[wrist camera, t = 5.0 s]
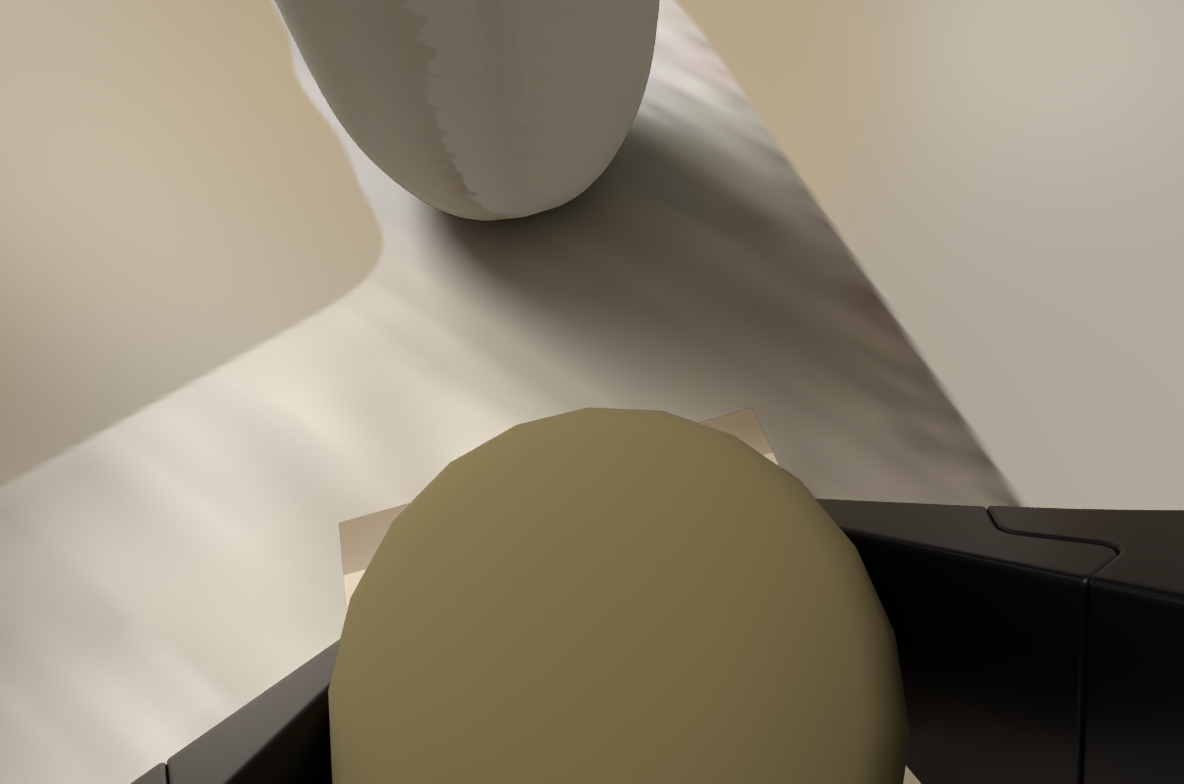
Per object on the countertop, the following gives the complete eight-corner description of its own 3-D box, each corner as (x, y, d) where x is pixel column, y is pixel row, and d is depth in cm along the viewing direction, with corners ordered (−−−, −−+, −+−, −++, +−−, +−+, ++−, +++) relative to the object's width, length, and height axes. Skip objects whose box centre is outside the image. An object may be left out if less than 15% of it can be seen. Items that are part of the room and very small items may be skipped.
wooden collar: (920, 883, 12) (986, 918, 10) (437, 1060, 11) (395, 1144, 9) (734, 447, 17) (752, 407, 15) (377, 549, 16) (338, 522, 14)
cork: (798, 776, 13) (1288, 939, 4) (539, 914, 12) (266, 1631, 3) (672, 525, 16) (760, 231, 6) (451, 623, 15) (154, 456, 5)
